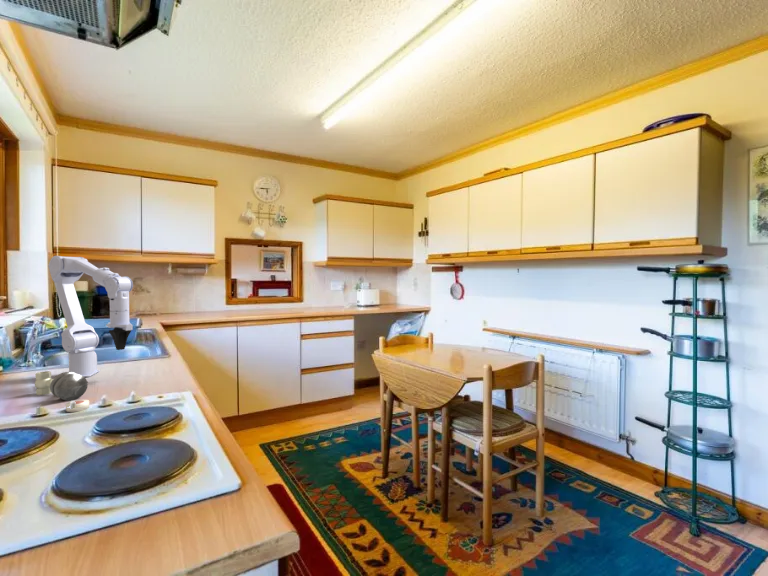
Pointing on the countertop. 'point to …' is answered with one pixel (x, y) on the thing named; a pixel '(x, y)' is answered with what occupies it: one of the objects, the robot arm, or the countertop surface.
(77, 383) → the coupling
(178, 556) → the countertop surface
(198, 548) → the countertop surface
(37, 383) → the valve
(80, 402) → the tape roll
